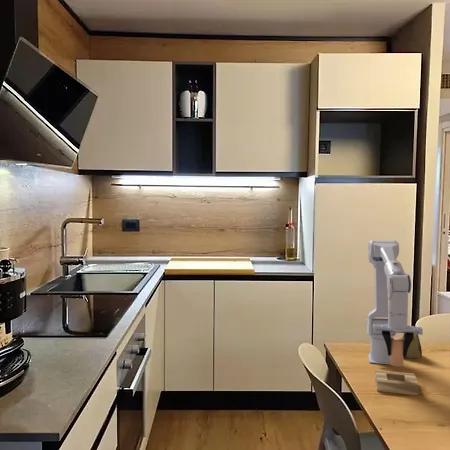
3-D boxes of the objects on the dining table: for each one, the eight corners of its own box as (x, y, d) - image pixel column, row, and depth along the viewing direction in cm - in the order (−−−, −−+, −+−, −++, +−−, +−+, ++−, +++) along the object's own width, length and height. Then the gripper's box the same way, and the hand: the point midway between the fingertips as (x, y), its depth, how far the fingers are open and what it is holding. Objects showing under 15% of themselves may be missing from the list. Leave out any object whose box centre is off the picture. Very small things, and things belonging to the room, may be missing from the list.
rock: (387, 352, 177) (416, 353, 171) (389, 330, 181) (417, 331, 176) (396, 363, 184) (423, 364, 178) (397, 342, 188) (424, 343, 183)
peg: (389, 361, 153) (389, 337, 152) (402, 362, 152) (403, 338, 151) (390, 365, 149) (391, 340, 148) (404, 367, 148) (404, 341, 147)
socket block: (375, 379, 157) (375, 370, 156) (413, 382, 154) (414, 373, 154) (377, 391, 147) (377, 381, 147) (418, 395, 144) (418, 385, 144)
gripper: (374, 314, 147) (373, 357, 148) (424, 317, 144) (423, 361, 144) (373, 309, 154) (372, 350, 155) (421, 311, 150) (419, 354, 151)
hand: (396, 355), depth 150 cm, fingers closed on peg, 4 cm apart
